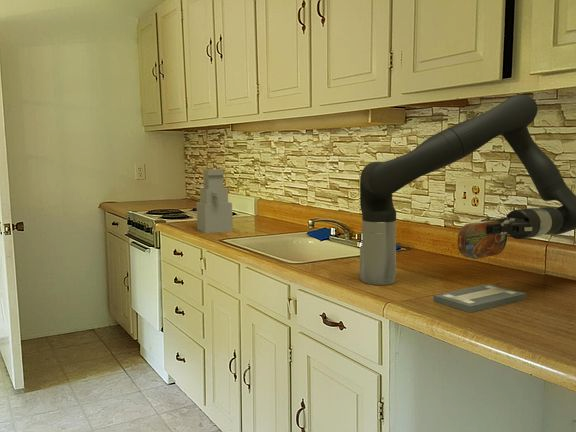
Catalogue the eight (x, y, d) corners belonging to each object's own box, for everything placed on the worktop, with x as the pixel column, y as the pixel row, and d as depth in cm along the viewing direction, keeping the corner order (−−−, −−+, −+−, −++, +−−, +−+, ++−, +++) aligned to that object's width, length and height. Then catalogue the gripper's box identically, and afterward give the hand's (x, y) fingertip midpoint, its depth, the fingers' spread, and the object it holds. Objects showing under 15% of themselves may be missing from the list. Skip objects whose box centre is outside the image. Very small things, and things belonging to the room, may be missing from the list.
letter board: (433, 301, 131) (433, 294, 131) (488, 289, 142) (488, 283, 141) (470, 312, 122) (470, 305, 122) (525, 299, 132) (526, 293, 132)
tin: (464, 261, 125) (466, 225, 124) (454, 258, 128) (456, 223, 126) (507, 253, 133) (509, 219, 131) (496, 251, 135) (498, 217, 134)
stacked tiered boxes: (219, 226, 265) (217, 168, 261) (236, 232, 244) (235, 169, 240) (193, 227, 259) (191, 169, 256) (208, 234, 238) (207, 170, 235)
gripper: (505, 205, 144) (459, 210, 135) (554, 211, 132) (507, 216, 123) (504, 233, 145) (458, 240, 136) (553, 241, 133) (506, 249, 124)
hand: (482, 229), depth 129 cm, fingers closed on tin, 2 cm apart
